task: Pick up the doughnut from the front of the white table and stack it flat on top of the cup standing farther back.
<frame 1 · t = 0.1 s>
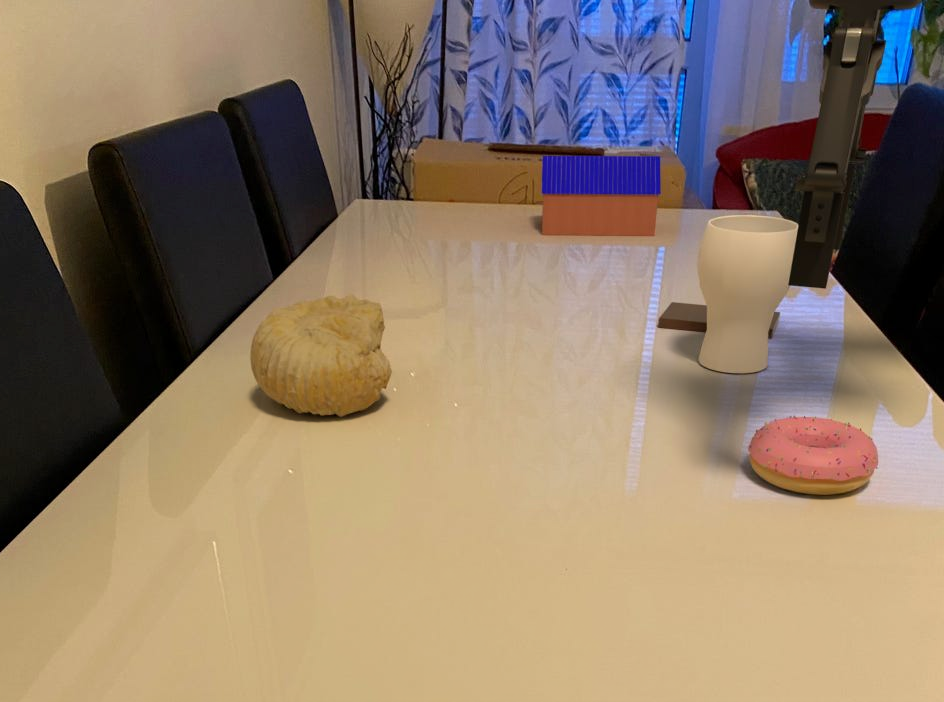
hand: (815, 266, 79), 17 cm above the table, tool pointing down, fingers open, 13 cm apart
house: (596, 229, 176), on the table
walnut coaster board: (718, 324, 126), on the table
doughnut: (807, 477, 88), on the table
seashell: (332, 398, 105), on the table
cup: (732, 364, 113), on the table
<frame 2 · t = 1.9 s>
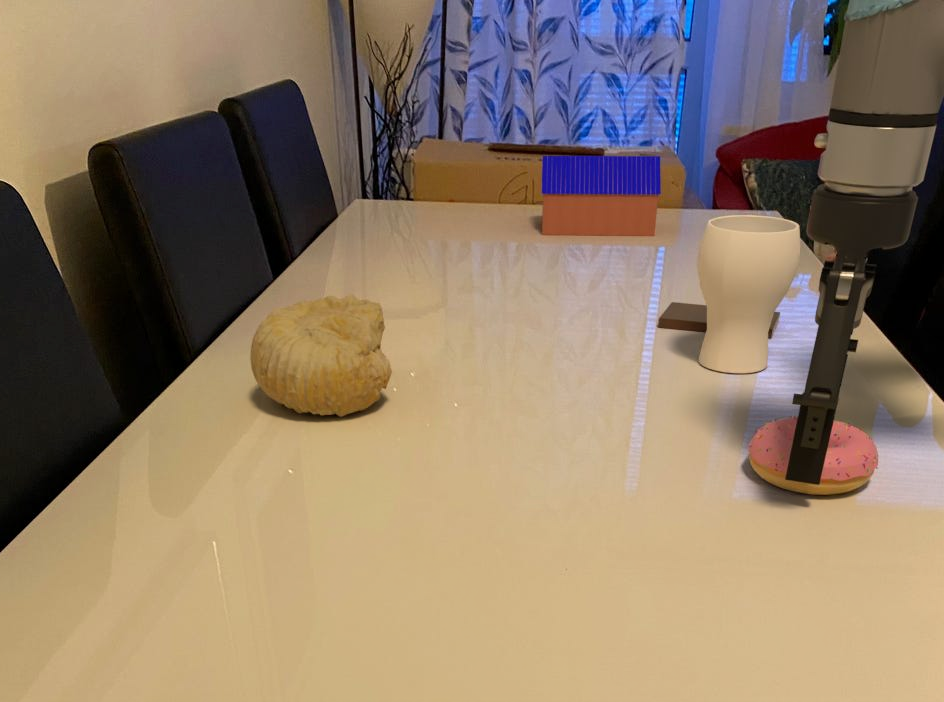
hand: (810, 450, 86), 2 cm above the table, tool pointing down, fingers open, 13 cm apart
nothing on the table moved.
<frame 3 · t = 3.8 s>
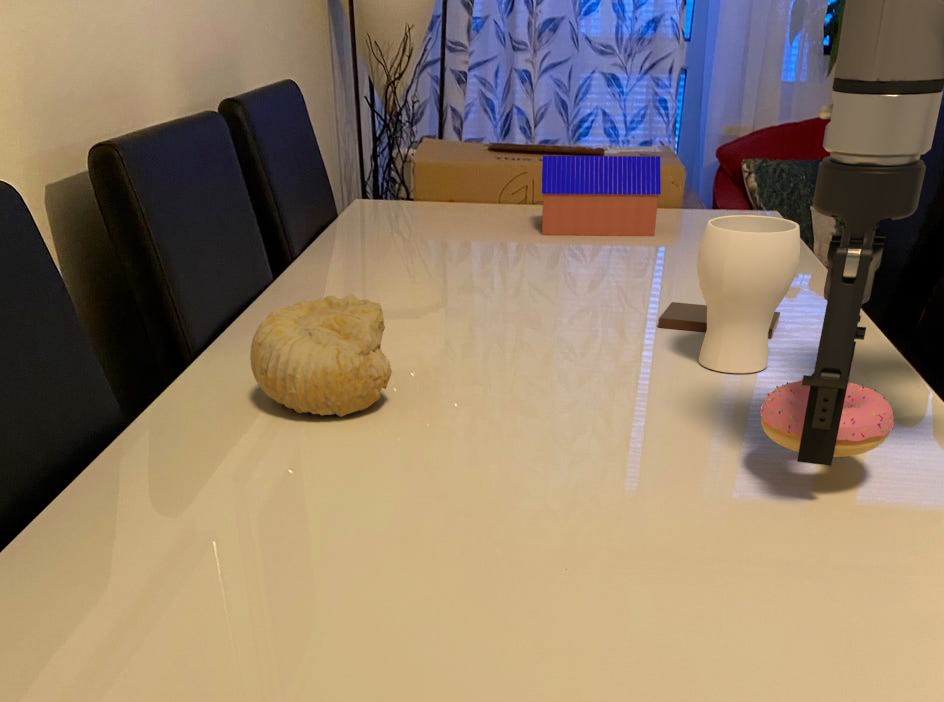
hand: (820, 436, 85), 4 cm above the table, tool pointing down, fingers closed on doughnut, 11 cm apart
doughnut: (821, 441, 86), point 3 cm above the table, touching gripper
everything else where it was.
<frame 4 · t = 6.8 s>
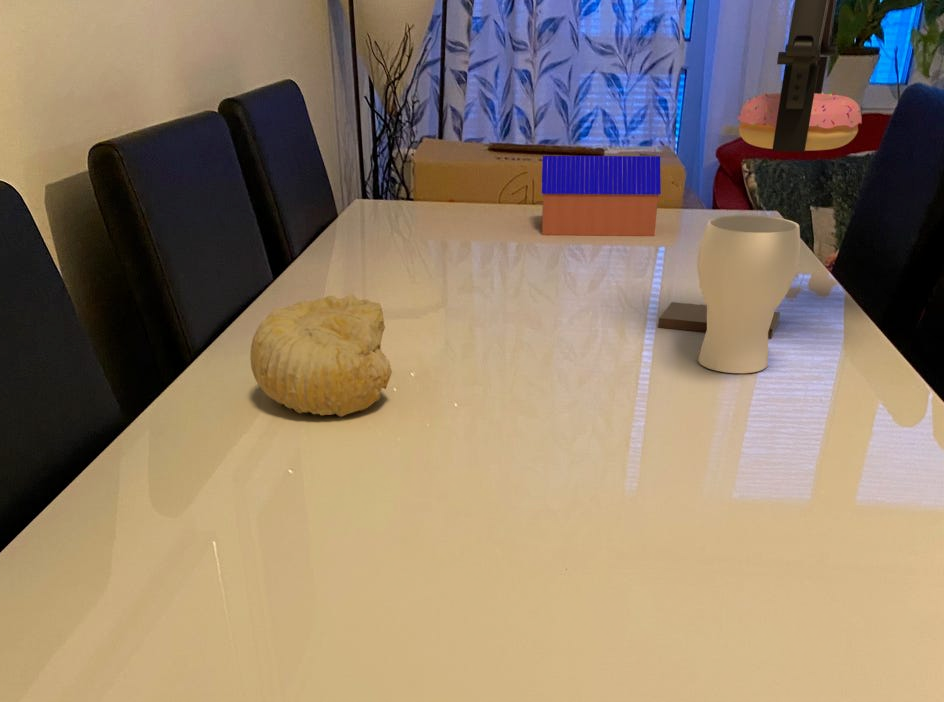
hand: (794, 142, 91), 24 cm above the table, tool pointing down, fingers closed on doughnut, 11 cm apart
doughnut: (794, 147, 91), point 24 cm above the table, touching gripper
everything else where it was.
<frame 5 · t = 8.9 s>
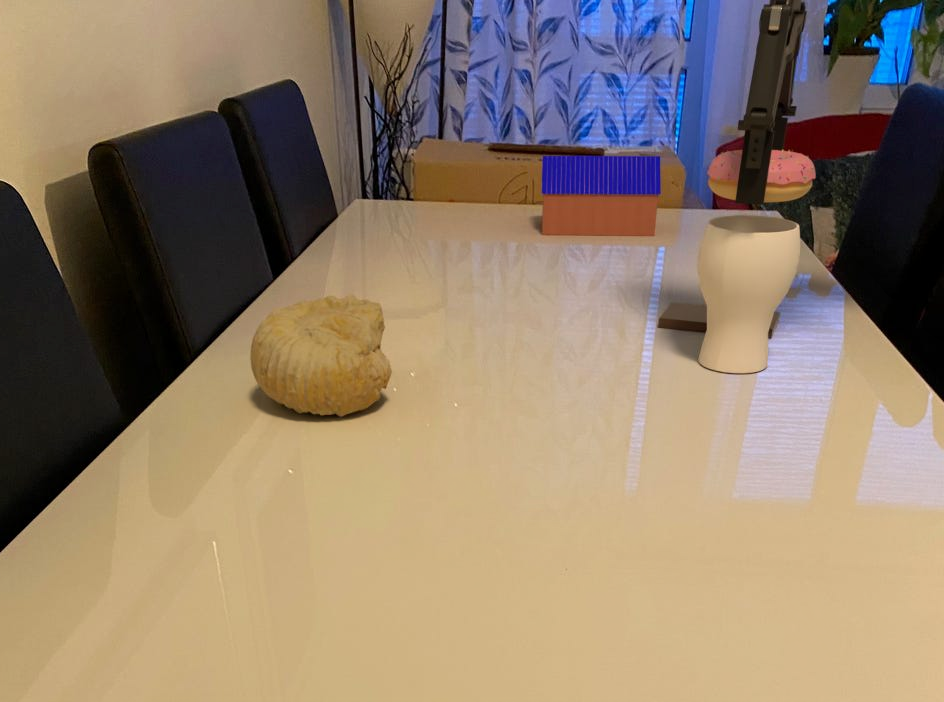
hand: (757, 193, 103), 18 cm above the table, tool pointing down, fingers closed on doughnut, 11 cm apart
doughnut: (757, 197, 104), point 18 cm above the table, touching gripper
everything else where it was.
when the fingers open (15 cm above the table, at t = 10.1 s): doughnut stays where it is, resting on cup.
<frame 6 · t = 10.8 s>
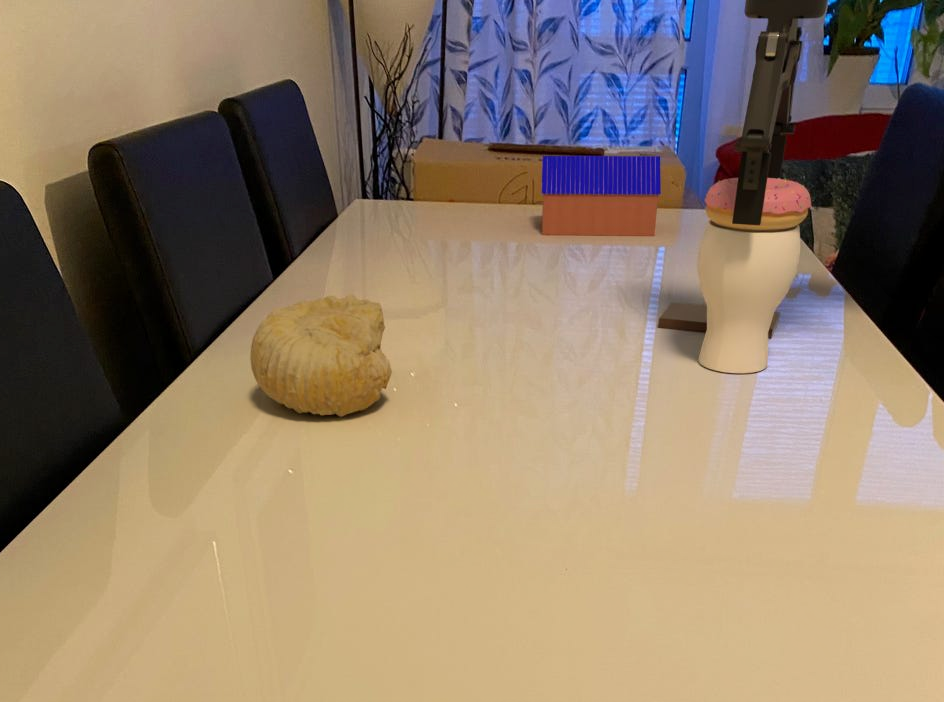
hand: (755, 212, 104), 16 cm above the table, tool pointing down, fingers open, 13 cm apart
doughnut: (753, 225, 105), point 15 cm above the table, touching cup
cup: (732, 364, 113), on the table, touching doughnut
everything else where it was.
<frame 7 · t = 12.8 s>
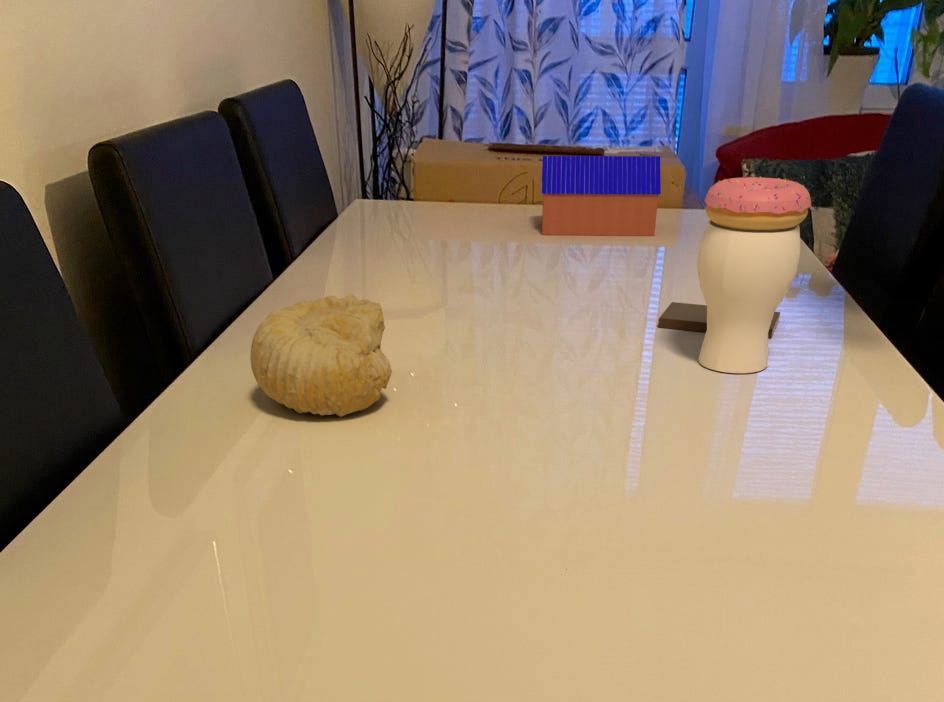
nothing on the table moved.
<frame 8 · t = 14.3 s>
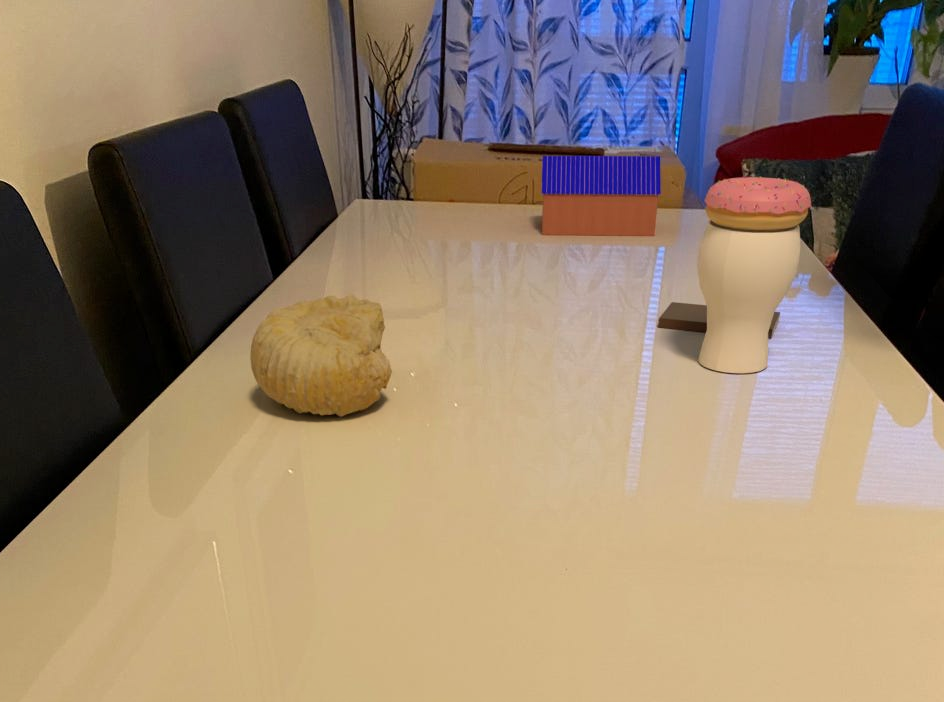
nothing on the table moved.
at the end: doughnut 0.1 cm off-centre on the cup, point 15.0 cm above the cup's base; the gripper is holding nothing; cup tilted 0° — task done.
